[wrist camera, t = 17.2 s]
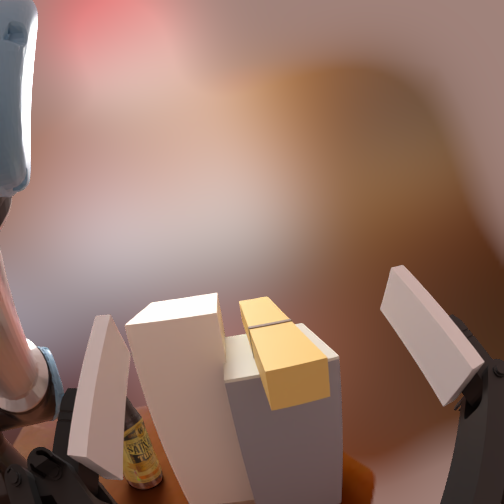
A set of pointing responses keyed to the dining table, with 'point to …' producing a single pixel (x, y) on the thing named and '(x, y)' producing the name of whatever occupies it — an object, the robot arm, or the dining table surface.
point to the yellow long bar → (284, 356)
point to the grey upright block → (286, 432)
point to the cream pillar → (190, 396)
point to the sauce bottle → (138, 452)
